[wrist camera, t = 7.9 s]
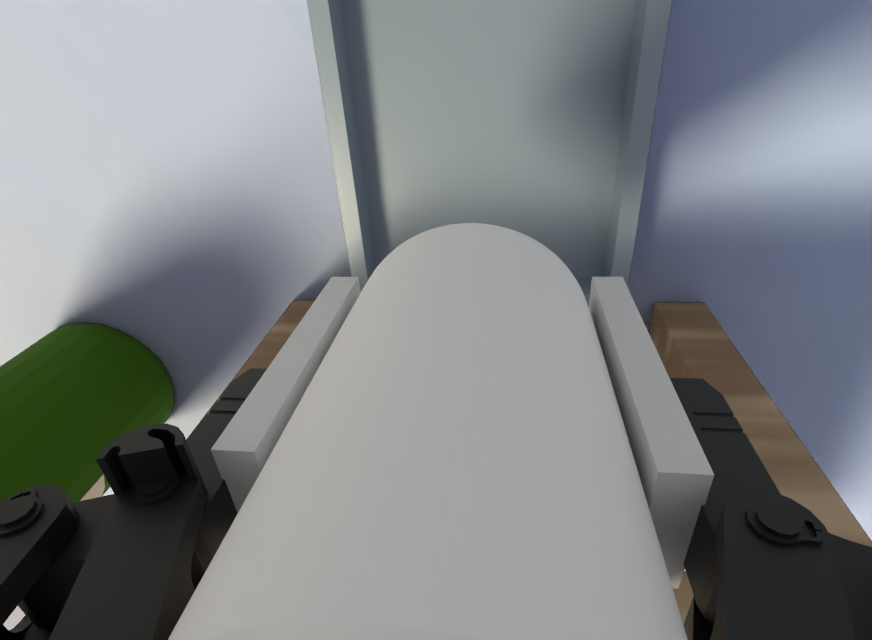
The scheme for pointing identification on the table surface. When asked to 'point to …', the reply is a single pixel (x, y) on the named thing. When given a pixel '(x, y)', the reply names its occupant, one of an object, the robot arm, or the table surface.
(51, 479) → the wine bottle
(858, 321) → the table surface
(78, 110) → the table surface
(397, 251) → the beverage can
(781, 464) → the small wooden table
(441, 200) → the tray
